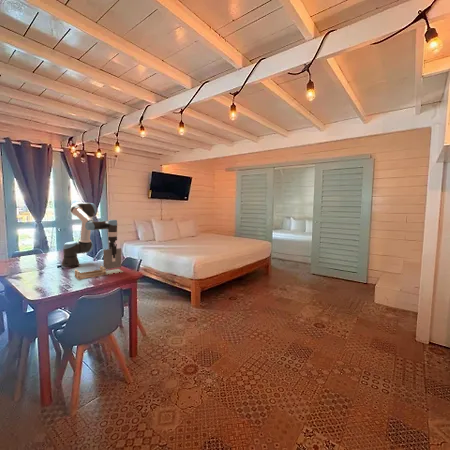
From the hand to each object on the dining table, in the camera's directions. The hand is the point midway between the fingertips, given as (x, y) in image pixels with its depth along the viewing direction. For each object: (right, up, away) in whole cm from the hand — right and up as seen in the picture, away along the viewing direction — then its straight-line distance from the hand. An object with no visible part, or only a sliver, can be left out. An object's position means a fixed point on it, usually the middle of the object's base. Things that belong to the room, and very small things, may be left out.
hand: (112, 260), depth 225 cm
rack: (-14, -11, -13) cm, 22 cm away
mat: (0, -11, +1) cm, 11 cm away
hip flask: (0, -7, 0) cm, 7 cm away
